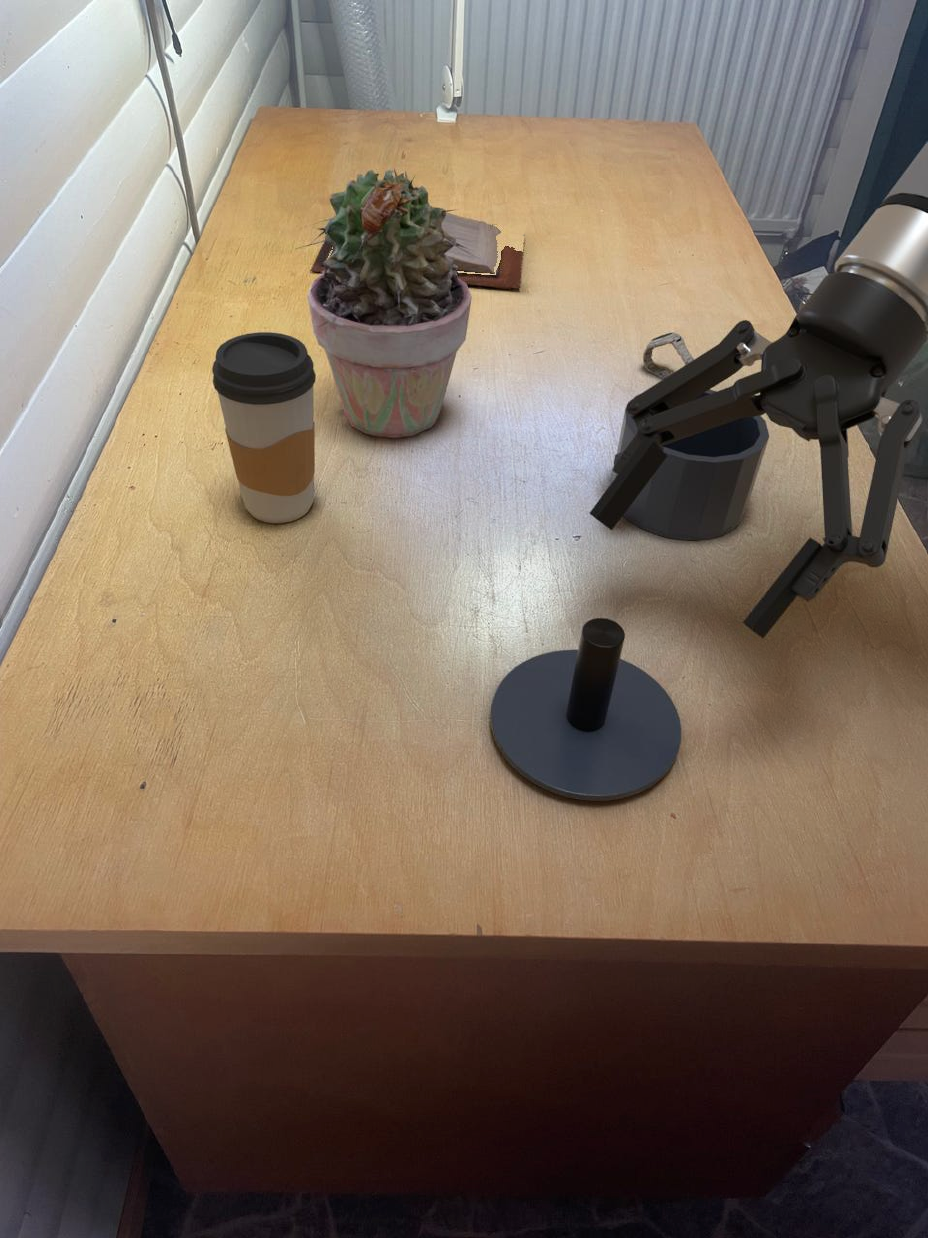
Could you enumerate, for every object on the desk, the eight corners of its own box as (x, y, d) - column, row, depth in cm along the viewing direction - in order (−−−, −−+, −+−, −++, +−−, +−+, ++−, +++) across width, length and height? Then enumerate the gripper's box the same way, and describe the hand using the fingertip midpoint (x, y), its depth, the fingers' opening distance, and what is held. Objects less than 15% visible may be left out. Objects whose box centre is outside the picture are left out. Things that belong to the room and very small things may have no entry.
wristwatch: (652, 361, 107) (660, 320, 103) (695, 381, 104) (705, 340, 100) (633, 370, 105) (641, 329, 102) (677, 391, 102) (686, 350, 99)
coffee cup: (291, 467, 88) (275, 319, 78) (343, 507, 84) (334, 357, 73) (215, 500, 84) (188, 348, 73) (266, 544, 79) (245, 389, 69)
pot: (788, 498, 88) (815, 421, 82) (662, 569, 79) (682, 489, 73) (689, 440, 95) (707, 365, 89) (563, 499, 86) (574, 421, 80)
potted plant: (429, 352, 106) (433, 115, 89) (507, 438, 93) (529, 181, 76) (279, 380, 100) (252, 131, 83) (340, 476, 87) (324, 206, 70)
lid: (717, 743, 65) (752, 648, 59) (581, 841, 59) (603, 748, 52) (585, 635, 73) (603, 540, 66) (451, 712, 66) (456, 616, 60)
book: (336, 221, 135) (334, 189, 131) (526, 230, 133) (528, 199, 130) (309, 286, 121) (305, 253, 118) (519, 298, 120) (521, 265, 116)
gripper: (1072, 413, 54) (840, 694, 57) (740, 266, 68) (568, 500, 71) (1076, 354, 48) (815, 673, 51) (710, 206, 61) (523, 465, 65)
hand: (671, 573), depth 61 cm, fingers open, 13 cm apart
